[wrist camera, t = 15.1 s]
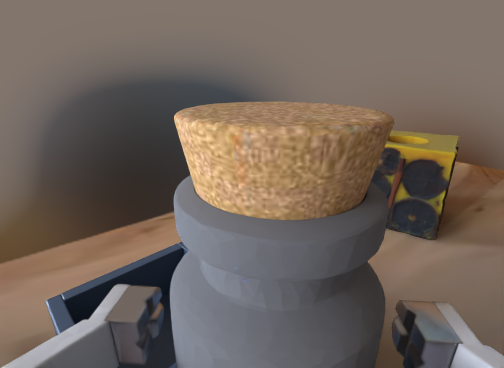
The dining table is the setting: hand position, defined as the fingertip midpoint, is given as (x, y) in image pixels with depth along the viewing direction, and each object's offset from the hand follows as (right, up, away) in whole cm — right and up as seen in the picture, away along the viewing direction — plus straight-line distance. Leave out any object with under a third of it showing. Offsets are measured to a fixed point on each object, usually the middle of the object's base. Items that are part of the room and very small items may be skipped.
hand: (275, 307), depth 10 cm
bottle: (0, -8, +2) cm, 8 cm away
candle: (+18, 0, +27) cm, 32 cm away
